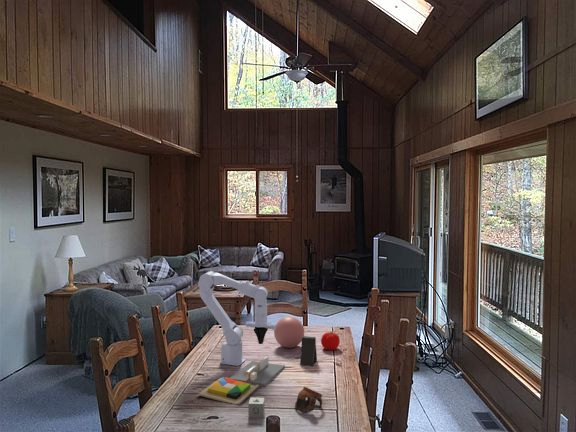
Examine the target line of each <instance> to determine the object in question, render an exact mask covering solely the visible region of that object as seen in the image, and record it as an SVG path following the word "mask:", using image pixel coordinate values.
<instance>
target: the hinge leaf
mask: <svg viewBox="0 0 576 432" xmlns="http://www.w3.org/2000/svg"><path fill="white" fill-rule="evenodd" d="M258 369H259V366H258V364H256V365H254V366H253V367H252V368H250V369H249V370H248V371H247V379H248V380H249V379H250V374H251V373H252V372H258Z"/></svg>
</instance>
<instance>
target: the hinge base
mask: <svg viewBox="0 0 576 432" xmlns="http://www.w3.org/2000/svg"><path fill="white" fill-rule="evenodd" d="M256 364H258V366H259V369H258V372H252V373H251V374H250V379H249V380H248V379H247V371H248V370H249V369H250V368H252V367H253V366H254V365H256ZM284 369H285V365H284V364H278V363H277V364H276V363H270V362H269V356H267V355H266V356H265V357H264V358H262V359H260V361H255V360H251V361H250V362H249V363H248V364H246V365H245V366H244V367H242V368H241V369H240V370H238V371H237V372H236V373H235V374H233V375H232V376H230V377H229V378H230V379H233V380H236V381H241V382H245V383H248V384H251V385H254V386H256V385H257V384H258V385H259V386H260V387H266V386H267V385H268V384H269V383H270V382H272V380H273V379H274V378H276V377H277V376H278V375H279V374H280V372H283V370H284Z"/></svg>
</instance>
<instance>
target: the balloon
mask: <svg viewBox="0 0 576 432" xmlns="http://www.w3.org/2000/svg"><path fill="white" fill-rule="evenodd" d="M275 325H276V329H275V330H273V333H274V339H275V340H276V341H275V342H277V344H278V345H280V346H281V347H283V348H286V349H287V348H288V349H292V348H296V347H297V346H298V345H300V344H302V337H303V336H305V327H304V325H303V323H302V322H301V321H300V320H299V319H298V318H297V317H293V316H285V317H282V318H281V319H279V320H278V321H277V323H276V324H275Z"/></svg>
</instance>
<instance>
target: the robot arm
mask: <svg viewBox="0 0 576 432" xmlns="http://www.w3.org/2000/svg"><path fill="white" fill-rule="evenodd" d="M197 285H198V288H199V289H198V290H199V296H200V298H201V300H202V301H203V303H204V304H205V306H206V307H207V308H208V310H209V311H210V313H211V314H212V315H213V317H214V318H215V320H216V321H217V322H218V324H219V326H220V327H221V328H222V334H223V335H224V337H225V341H224V342H223V343H222V344H221V346H220V362H219V364H223V365H230V366H231V365H232V366H236V367H239V366H240V365H242V364H243V363H244V362H246V358H243V340H242V337H243V335H244V331H243V328H241V327H240V326H239V325H237V324H236V322H235V321H233V320H232V319H231V317H229V315H228V314H227V312H226V311H225V310H224V308H223V307H222V306H221V304H220V302H219V301H218V300H217V298H216V297H215V296H214V294H213V291H214V288H215V287H214V286H217V285H224V286H227V287H231V288H233V289H236V290H238V293H240V294H242V295H244V296H247V297H250V298H252V299H254V321H246V322H245V327H252V328H254V329H253V332H254V333H255V334H254V335H255V336H256V338H257V341H258V345H262V344H264V341H265V338H266V337H265V336H266V333H267V331H268V330H273V331H274V330H275V329H276V324H274V323H269V322H268V299H267V297H268V294H269V292H268V290H267V288H266V287H264V285H263V286H260V285H258V284H253V283H251V282H250V281H249V280H246V281H241V282H240V281H238V280H236V279H234V278H231V277H229V276H227V275H225V274H222V273H219V272H215V271H213V270H209V271H207V272H206V273H202V275H200V277H199V279H198V283H197Z"/></svg>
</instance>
